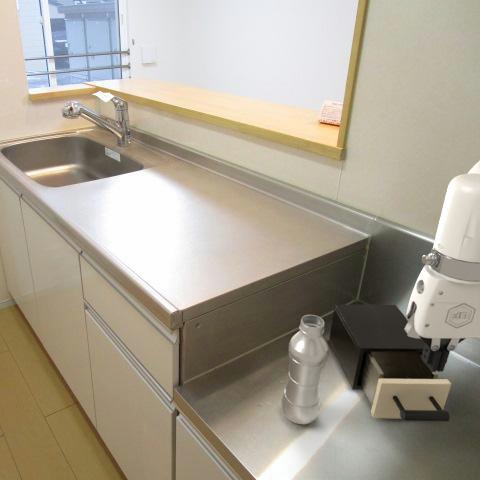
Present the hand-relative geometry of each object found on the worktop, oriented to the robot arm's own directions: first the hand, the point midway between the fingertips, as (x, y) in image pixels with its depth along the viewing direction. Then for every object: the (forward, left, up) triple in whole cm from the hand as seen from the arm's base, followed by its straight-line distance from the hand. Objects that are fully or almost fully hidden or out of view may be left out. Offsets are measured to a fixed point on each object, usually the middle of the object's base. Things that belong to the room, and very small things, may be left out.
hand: (432, 365), depth 71 cm
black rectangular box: (+1, -17, -14) cm, 22 cm away
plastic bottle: (+19, -3, -14) cm, 23 cm away
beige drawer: (+1, -6, -13) cm, 14 cm away
